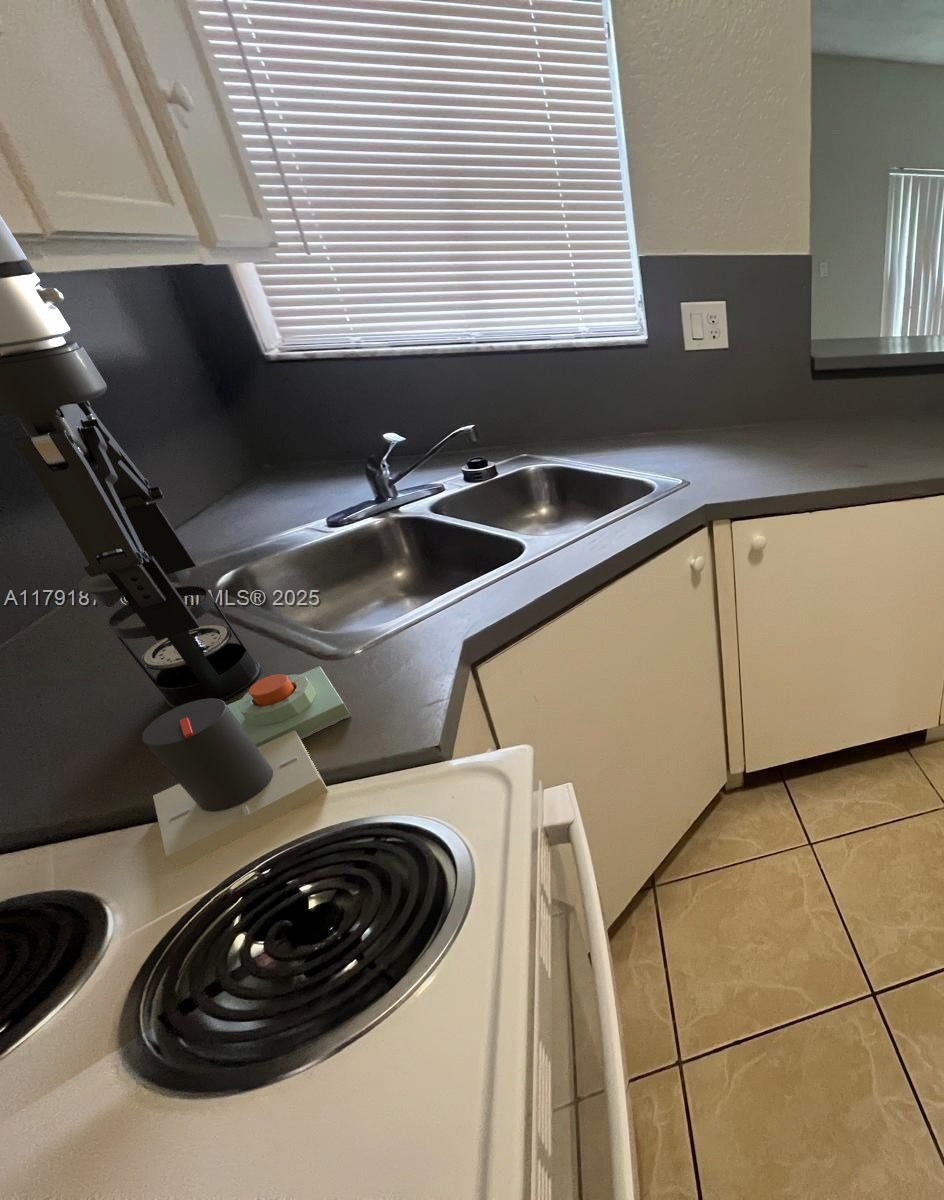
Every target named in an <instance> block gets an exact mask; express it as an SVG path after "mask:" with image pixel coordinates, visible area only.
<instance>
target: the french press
mask: <svg viewBox="0 0 944 1200" xmlns="http://www.w3.org/2000/svg"><path fill="white" fill-rule="evenodd" d="M115 551H116V552H120V551H123V550H121V549H116V550H115ZM166 576H167V578H168V579H169V580H170V582H171V583H183V582H185V581H187V580H188V579H189V578H190V576H191V571H190V570H189V568H188V569H185V570H181V571H177V572H174V573H170V574H166ZM77 588H78V590H80V592H81V593H83V594H89V595H90V596H91V597H92V598H93V600H94V601H95V603H97V604H98V605H100V606H104V607H110V606H114V605H116V604H117V603H118V602H119V601H120V600H121V599H122V598H123V597H124V596H123V595H122V593H121V592H120V591H119V589H118V588H117V587H116V585H115V584H114V583H113V581H112V580H111V579H110V577H109V576H108V575H107V573H106V574H102V575H98V576H95V577H91V576H90V575H89V574H88V573H87V574H86V575H85V576H83V577H82V578H81V579H80V580H79V581H78V583H77ZM174 588H175V589H176V591H177V592H178V593H179V595H180V596H181V598H183V597H191V596H201V597H203V599H202V600H201V601H200V602H198V603H197V604H196V605H194V606H193V607H190V608H189V609H190V611H191V612H192V614H193V615H194V617H195V618H196V620H198V619H199V618H201V617H203V616H204V615H206V614H207V613H208V612H209V611H210V610H211V609H212V608H213V607H214V608H216V610H217V612H218V613H219V615H220V616H221V617H222V619H223V621H224V622H225V624H226V625H224V624H220V623H215V624H214V623H213V624H203V625H199V628H196V629H193V630H190V631H187V632H183V633H180V634H177V635H174V636H171V637H167V638H164V639H161V640H158V642H156V643H154V644H153V645H151V646H150V647H149V648H147V650H145V651H144V653H143V654H141V655H142V656H141V658H139V656H138V655H137V654H136V653H135V651H134V650H133V648H132V647H131V646H130V645H129V643H128V642H127V641H126V640H125V639H128V640H137V639H143V638H150V637H154V636H153V635H152V634H151V632H150V631H149V630H148V628H147V627H146V626H145V625H141V626H137V627H120V625H121V624H122V623H123V622H124V621H126V620H127V619H128V618H130V617H132V616H133V615H135V614H137V613H136V612H135V611H134V609H133V608H132V607H131V605H130V604H129V603H128V602H127V603H126V604H124V605H122V606H121V607H119V608H118V609H116V610H115V611H114V612H113V613H111V614H110V615H109V616H108V618H107V620H106V624H107V626H108V627H109V628H110V630H111V631H112V632H113V634H114V635H115V636H116V638H117V639H118V640H119V642H120V643H121V644H122V645H123V647H124V648H125V649H126V650H127V651H128V653H129V654H130V656H132V658H133V659H134V661H136V663H137V664H138V665H139V667H140V668H141V669H142V671H144V673H145V674H146V675H147V677H148V678H149V679H150V681H151V682H152V683H153V684H154V685H155V687H156V688H157V689H158V690H159V692H160V693H161V694H162V696H163V697H164V698H165V702H166V704H167V706H168V707H169V708H170V709H171V710H172V709H174V708H176V707H178V706H181V705H183V704H186V703H189V702H193V701H196V700H201V699H210V698H211V699H219V700H222V701H224V702H226V701H228V700H230V699H233V698H234V697H236V696H238V695H240V694H242V693H243V692H245V691H246V690H247V689H250V688H251V686H252V685H253V684H255V683H256V682H257V681H258V679H259V677H260V676H261V673H262V667H261V665H260V663H259V662H258V661H257V660H254V658H253V657H252V655H251V654H250V652H249V651H248V649H247V647H246V646H245V644H244V643H243V642H242V640H241V639H240V637H239V635H238V634H237V632H236V631H235V629H234V628H233V626H232V624H231V623H230V622H229V620H228V618H227V617H226V615H225V614H224V613H223V611H222V609H221V608H220V607H219V605H218V603H217V601H216V600H215V598H214V597H213V595H212V594H211V592H210V591H209V590H208V588H206V587H204V586H201V585H181V586H174ZM232 635H233V636H234V638H235V639H236V641H237V642H230V641H231V639H232ZM228 667H229V668H228ZM223 668H228V669H227V670H225V671H223V672H222V673H218V672H217V671H216V670H220V669H223ZM150 670H155V671H158V672H157V673H156V674H155V676H154V675H153V674H152V673H151V672H150ZM196 679H197V680H198V682H197V683H194V684H191V682H193V681H194V680H196ZM188 684H191V685H188Z"/></svg>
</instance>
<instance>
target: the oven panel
mask: <svg viewBox="0 0 944 1200" xmlns="http://www.w3.org/2000/svg"><path fill="white" fill-rule="evenodd" d="M302 741H303V740H301V738H300V737H299V735H298V734H297V732H296V731H295V730H294V731H292V732H290V733H287V734H285V735H283V736H281V737H279V738H277V739H274V740H272V741H270V742H268V743H266V744H264V745H261V746H259V747H257V748H258V749H259V751H260V752H261V753H262V755H263V756H264V758H265V759H266V760H267V762H268V763H269V765H270V766H271V767H272V769H273V775H272V778H271V780H270V782H269V783H268V784H267V786H266V787H265V788H264V789H263V790H262V791H260V792H259V793H258V794H257V795H255V796H254V797H252V798H251V799H249V800H247V801H246V802H244V803H242V804H240V805H237V806H235V807H232V808H229V809H226V810H221V811H205V810H203V809H201V808H200V807H199V806H198V804H197V803H196V802H195V801H194V800H193V799H192V798H191V796H190V795H189V794H188V793H187V792H186V791H185V789H184V788H183V787H182V786H181V785H180V784H179V783H177V784H175V785H173V786H171V787H169V788H166V789H164V790H162V791H160V792H158V793H156V794H153V795H152V798H153V803H154V808H155V813H156V817H157V822H158V827H159V831H160V837H161V841H162V846H163V851H164V855H165V858H166V859H167V860H168V861H169V862H170V863H171V864H172V865H173V866H174V868H176V869H177V870H178V871H179V870H182V869H184V868H185V867H187V866H189V865H191V864H193V863H195V862H197V861H198V860H200V859H202V858H204V857H206V856H208V855H210V854H212V853H213V852H216V851H218V850H219V849H221V848H222V847H225V846H227V845H229V844H231V843H233V842H235V841H236V840H238V839H241V838H243V837H244V836H246V835H248V834H250V833H252V832H254V831H256V830H258V829H260V828H261V827H263V826H265V825H267V824H269V823H271V822H273V821H274V820H277V819H278V818H280V817H282V816H284V815H286V814H288V813H290V812H291V811H293V810H296V809H297V808H299V807H301V806H303V805H305V804H307V803H309V802H311V801H312V800H314V799H316V798H318V797H320V796H322V795H324V794H327V792H329V789H328V787H327V785H326V783H325V782H324V780H323V777H322V776H321V774H320V772H319V770H318V768H317V766H316V764H315V762H314V760H313V759H312V760H313V761H312V760H311V758H312V757H311V758H310V756H311V755H310V753H309V751H308V749H307V747H306V745H305V743H304V741H303V742H302ZM303 743H304V744H303ZM304 745H305V746H304ZM305 747H306V748H305ZM306 749H307V750H306ZM307 751H308V752H307ZM308 753H309V754H308ZM309 755H310V756H309ZM313 762H314V763H313ZM314 764H315V765H314ZM315 766H316V767H315ZM316 768H317V769H316ZM317 770H318V771H317Z"/></svg>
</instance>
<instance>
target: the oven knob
mask: <svg viewBox="0 0 944 1200" xmlns="http://www.w3.org/2000/svg"><path fill="white" fill-rule="evenodd" d="M227 705H228V704H226V701H222V700H219V699H211V698H210V699H201V700H196V701H193V702H189V703H186V704H183V705H181V706H178V707H176V708H174V709H172V708H171V709H169V710H168V711H166V712H164V713H163V714H161V715H159V716H158V717H157V718H155V719H154V720H153V721H151V722H150V723H149V724H148V725H147V727H146V728H145V729H144V731H143V732H142V735H141V740H142V742H143V743H144V744H145V746H147V748H148V749H149V750H150V751H151V752H152V754H154V756H155V757H156V758H157V759H158V760H159V761H160V763H161V764H162V765H163V766H164V767H165V769H166V770H167V771H168V772H169V773H170V774H171V775H172V777H173V778H174V779H175V781H176V782H178V784H180V785H181V786H182V787H183V788H184V789H185V791H186V792H187V793H188V794H189V795H190V796H191V798H192V799H193V800H194V801H195V802H196V803H197V804H198V806H199V807H200V808H201V809H203V810H205V811H221V810H226V809H229V808H232V807H235V806H237V805H240V804H242V803H244V802H246V801H247V800H249V799H251V798H252V797H254V796H255V795H257V794H258V793H259V792H260V791H262V790H263V789H264V788H265V787H266V786H267V784H268V783H269V782H270V780H271V778H272V775H273V769H272V767H271V766H270V765H269V763H268V762H267V760H266V759H265V758H264V756H263V755H262V753H261V752H260V751H259V749H258V748H257V747H256V745H255V744H254V742H253V741H252V740H251V738H250V737H249V735H248V734H247V733H246V731H245V730H244V729H243V727H242V726H241V724H240V723H239V722H238V720H237V719H236V717H235V716H234V715H233V713H232V712H231V711H230V709H229V708H228V706H227Z"/></svg>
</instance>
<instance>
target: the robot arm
mask: <svg viewBox="0 0 944 1200" xmlns="http://www.w3.org/2000/svg"><path fill="white" fill-rule="evenodd" d="M40 285H41V280H40V278H39V277H38V276H37V274H36V273H35V269H34V268H33V266H32V265H31V263H30V262H29V261H28V258H27V256H26V254H25V253H24V251H23V250H22V248H21V246H20V244H19V243H18V241H17V240H16V238H15V236H14V235H13V233H12V231H11V230H10V228H9V227H8V225H7V223H6V221H4V218H3V217H2V215H1V214H0V416H4V415H5V416H6V415H7V416H12V417H14V418H16V419H17V420H18V421H19V422H20V425H21V427H22V429H23V430H24V432H25V434H26V436H22V437H15V438H14V441H15V448H16V449H17V450H18V451H19V452H20V453H22V455H23V457H24V458H25V460H26V461H27V462H28V463H29V465H30V467H31V468H32V469H33V471H34V472H35V474H36V475H37V477H38V479H39V480H40V482H41V484H42V485H43V487H44V489H45V491H46V492H47V494H48V496H49V498H50V499H51V501H52V503H53V504H54V506H55V508H56V509H57V511H58V513H59V515H60V517H61V518H62V520H63V522H64V524H65V525H66V527H67V529H68V530H69V532H70V533H71V535H72V538H73V539H74V541H75V542H76V544H77V545H78V547H79V549H80V552H81V553H82V554H83V556H84V558H85V559H86V561H87V563H88V565H86V566H84V567H83V568H84V571H85V572H86V574H87V575H88V574H89V575H90V576H91V577H95V576H98V575H102V574H106V573H107V575H108V576H109V577H110V579H111V580H112V581H113V583H114V584H115V585H116V587H117V588H118V589H119V591H120V592H121V593H122V595H123V596H122V597H123V598H124V599H125V600H126V602H127V604H128V603H129V604H130V605H131V607H132V608H133V609H134V611H135V612H136V613H135V614H136V615H137V616H138V618H139V619H140V620H141V622H142V623H143V624H144V626H146V627H147V628H148V630H149V631H150V632H151V634H152V635H153V636H152V637H153V638H154V639H155V640H156V641H158V642H159V641H161V640H163V639H165V638H167V637H171V636H174V635H177V634H180V633H183V632H187V631H190V630H193V629H196V628H199V626H200V622H199V621H198V619H196V618H195V617H194V615H193V614H192V612H191V611H190V609H191V608H189V607H188V605H187V604H186V602H185V600H184V599H183V597H181V596H180V595H179V593H178V592H177V591H176V589H175V588H174V587H175V586H174V585H173V582H170V580H169V579H168V578H167V576H166V574H170V573H174V572H177V571H181V570H185V569H188V570H189V569H192V568H195V567H197V563H196V561H195V560H194V558H193V557H192V555H191V554H190V552H189V550H188V549H187V548H186V546H185V544H184V543H183V541H182V540H181V538H180V536H179V535H178V533H177V532H176V530H175V529H174V527H173V526H172V524H171V523H170V521H169V519H168V518H167V516H166V515H165V514H164V511H163V510H162V509H161V508H160V506H159V505H158V503H157V502H153V501H158V500H163V499H165V495H164V494H163V491H162V490H161V488H160V487H159V486H155V487H150V482H149V480H148V479H147V478H146V477H144V475H143V474H142V472H141V471H140V470H139V469H138V468H137V467H136V465H135V464H134V462H133V461H132V460H131V459H130V457H129V456H128V455H127V453H126V452H125V451H124V449H122V447H121V446H120V444H119V443H118V442H117V441H116V439H115V438H114V437H113V436H112V434H111V433H110V431H109V430H108V429H107V428H106V427H105V425H104V424H103V423H102V422H101V420H100V419H99V417H98V416H97V414H96V413H95V411H94V409H93V408H92V407H91V404H90V403H91V402H90V401H92V400H94V399H97V398H99V397H101V396H103V395H104V394H105V393H106V392H107V389H108V385H107V382H105V380H104V378H103V376H102V375H101V373H100V372H99V370H98V369H97V367H96V365H95V364H94V362H93V360H92V359H91V357H90V356H89V354H88V352H87V351H86V349H85V348H84V347H83V345H81V344H78V343H77V342H75V341H73V340H66V339H65V336H67V335H68V334H69V333H70V332H71V327H70V326H69V324H68V323H67V321H66V320H65V318H64V316H63V315H62V313H61V311H60V310H59V309H58V307H57V306H55V305H54V304H58V303H62V302H64V300H65V297H64V295H63V293H62V292H60V291H59V290H58V289H57V288H55V287H42V286H40ZM149 502H151V503H149ZM124 508H125V509H124ZM116 549H121V550H122V551H120V552H117V551H116ZM112 551H116V552H113V553H109V554H108V552H112Z"/></svg>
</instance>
